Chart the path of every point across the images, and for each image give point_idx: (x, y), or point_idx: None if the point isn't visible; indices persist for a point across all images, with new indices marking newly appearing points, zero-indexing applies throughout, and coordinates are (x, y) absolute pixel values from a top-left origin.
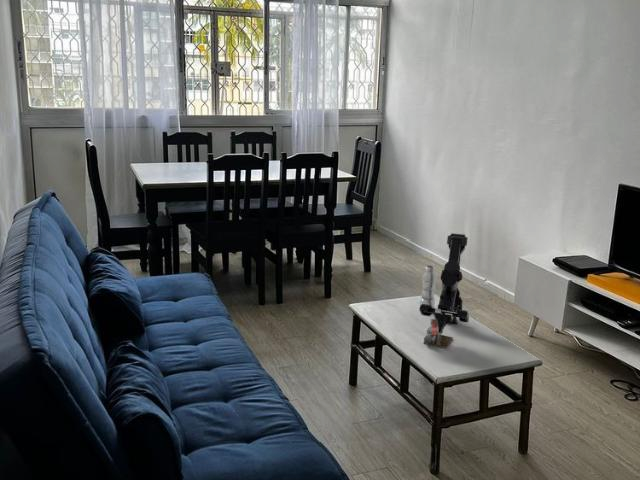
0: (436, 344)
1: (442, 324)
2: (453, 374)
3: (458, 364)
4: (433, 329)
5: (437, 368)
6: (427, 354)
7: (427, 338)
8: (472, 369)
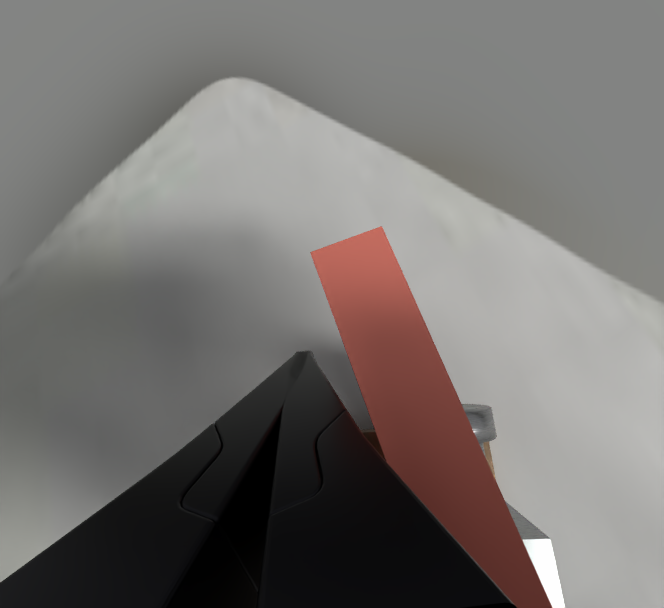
0: (368, 433)
1: (238, 413)
2: (159, 129)
3: (155, 245)
4: (364, 247)
5: (250, 138)
6: None
7: None
8: (73, 233)
